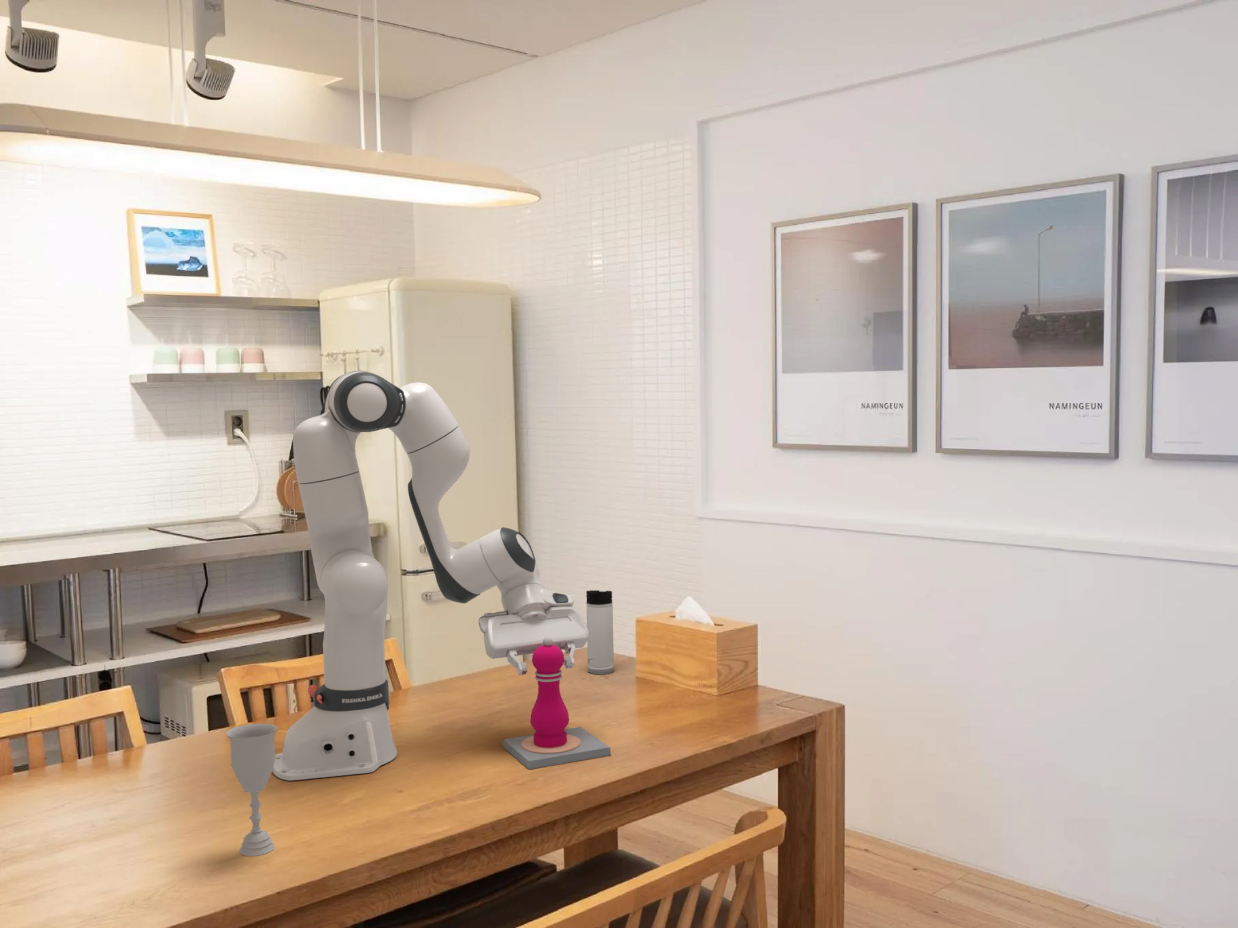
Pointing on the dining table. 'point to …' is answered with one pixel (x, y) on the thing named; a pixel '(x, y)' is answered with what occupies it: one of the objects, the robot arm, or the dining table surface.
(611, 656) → the travel mug
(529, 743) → the mount board
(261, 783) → the chalice
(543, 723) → the pepper mill
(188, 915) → the dining table surface
